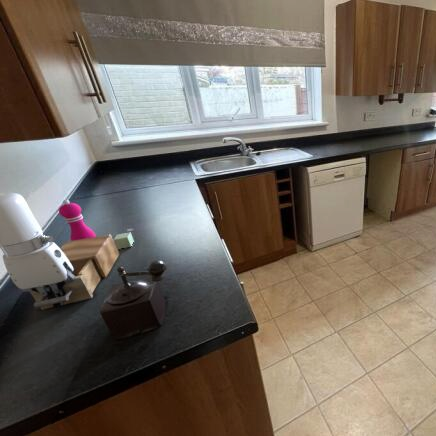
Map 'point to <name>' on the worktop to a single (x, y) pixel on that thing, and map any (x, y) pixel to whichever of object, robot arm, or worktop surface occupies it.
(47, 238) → the robot arm
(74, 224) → the pepper mill
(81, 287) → the drawer
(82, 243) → the cabinet
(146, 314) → the manual coffee grinder
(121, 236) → the block
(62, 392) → the worktop surface
